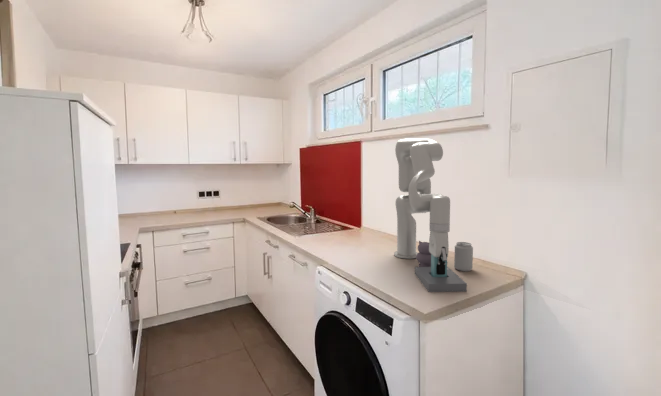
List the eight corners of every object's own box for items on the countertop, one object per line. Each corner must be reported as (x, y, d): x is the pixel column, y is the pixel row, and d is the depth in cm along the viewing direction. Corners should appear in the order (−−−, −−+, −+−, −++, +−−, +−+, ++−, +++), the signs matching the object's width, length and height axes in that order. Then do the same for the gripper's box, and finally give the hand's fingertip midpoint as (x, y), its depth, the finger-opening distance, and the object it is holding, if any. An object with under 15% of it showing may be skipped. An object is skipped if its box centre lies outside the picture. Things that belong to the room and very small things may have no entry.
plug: (430, 278, 128) (431, 254, 128) (443, 278, 128) (443, 254, 127) (434, 281, 125) (434, 256, 124) (446, 281, 124) (447, 256, 123)
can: (457, 265, 147) (457, 240, 145) (474, 268, 142) (475, 242, 141) (451, 269, 141) (452, 243, 140) (469, 273, 136) (470, 246, 135)
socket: (414, 273, 137) (414, 265, 136) (447, 273, 136) (447, 265, 136) (428, 291, 117) (428, 282, 116) (466, 291, 116) (466, 282, 116)
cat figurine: (412, 268, 144) (413, 242, 143) (420, 263, 150) (420, 239, 149) (430, 271, 139) (431, 245, 138) (438, 267, 145) (438, 241, 143)
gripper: (423, 223, 133) (423, 266, 135) (436, 231, 116) (436, 279, 118) (441, 223, 133) (440, 265, 134) (457, 231, 116) (456, 279, 118)
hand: (438, 271), depth 126 cm, fingers closed on plug, 4 cm apart
